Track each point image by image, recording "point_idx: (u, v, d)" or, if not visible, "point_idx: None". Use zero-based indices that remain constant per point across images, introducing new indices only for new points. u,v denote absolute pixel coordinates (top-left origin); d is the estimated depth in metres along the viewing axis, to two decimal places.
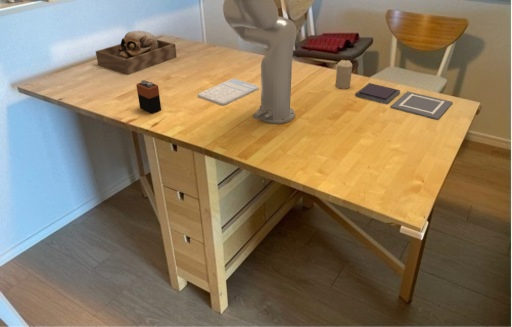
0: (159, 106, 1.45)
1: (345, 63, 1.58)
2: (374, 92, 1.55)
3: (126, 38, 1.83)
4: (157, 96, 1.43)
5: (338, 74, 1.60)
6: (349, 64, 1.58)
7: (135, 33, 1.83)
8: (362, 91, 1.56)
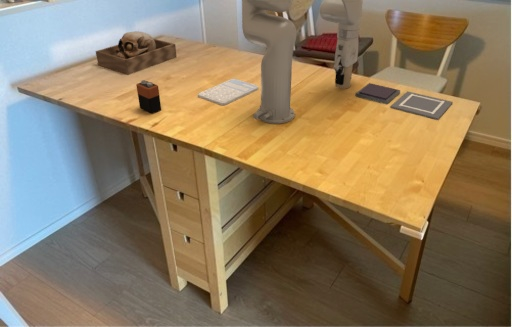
0: (159, 106, 1.45)
1: None
2: (374, 92, 1.55)
3: (123, 39, 1.82)
4: (157, 96, 1.43)
5: None
6: None
7: (132, 34, 1.82)
8: (362, 91, 1.56)
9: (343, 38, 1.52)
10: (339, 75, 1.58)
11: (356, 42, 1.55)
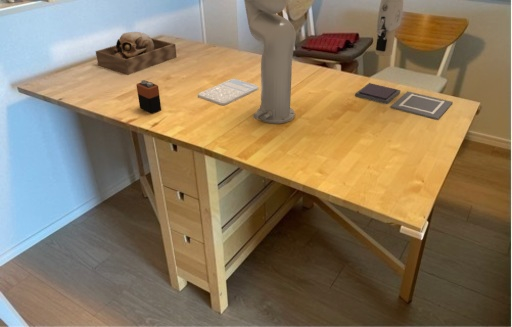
0: (159, 106, 1.45)
1: None
2: (374, 92, 1.55)
3: (121, 39, 1.82)
4: (157, 96, 1.43)
5: None
6: None
7: (131, 34, 1.81)
8: (362, 91, 1.56)
9: None
10: (381, 40, 1.43)
11: (401, 3, 1.40)
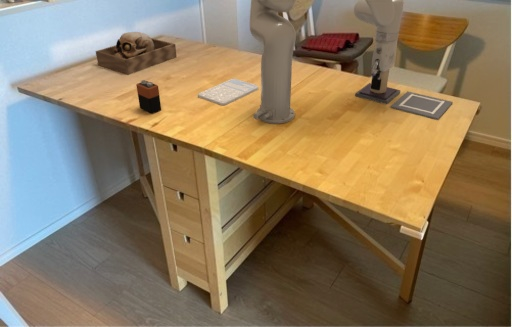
0: (159, 106, 1.45)
1: None
2: None
3: (121, 39, 1.82)
4: (157, 96, 1.43)
5: None
6: None
7: (131, 34, 1.81)
8: (362, 91, 1.56)
9: (382, 41, 1.44)
10: (376, 80, 1.50)
11: (394, 45, 1.47)
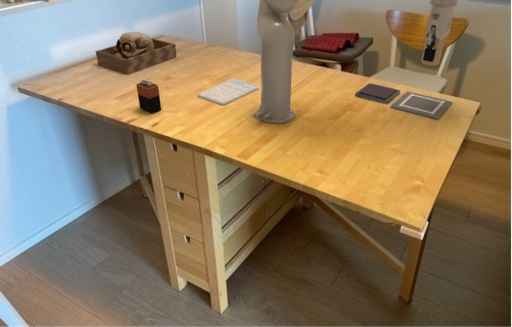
0: (159, 106, 1.45)
1: None
2: (374, 92, 1.55)
3: (121, 39, 1.82)
4: (157, 96, 1.43)
5: None
6: None
7: (130, 34, 1.81)
8: (362, 91, 1.56)
9: (440, 5, 1.28)
10: (430, 50, 1.35)
11: (452, 10, 1.32)
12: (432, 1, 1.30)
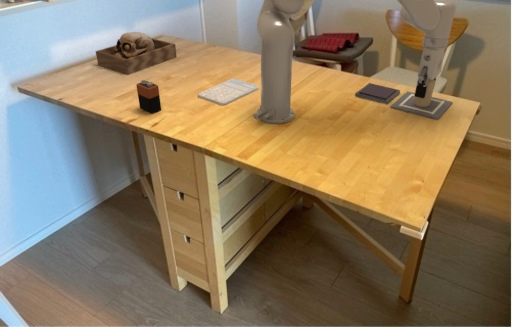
0: (159, 106, 1.45)
1: None
2: (374, 92, 1.55)
3: (121, 39, 1.82)
4: (157, 96, 1.43)
5: None
6: (432, 80, 1.42)
7: (131, 34, 1.81)
8: (362, 91, 1.56)
9: (431, 47, 1.35)
10: (421, 87, 1.40)
11: (443, 51, 1.39)
12: (424, 43, 1.37)
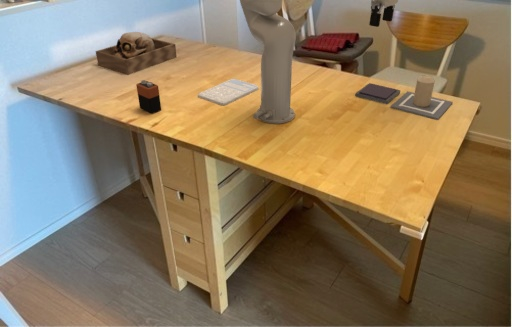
0: (159, 106, 1.45)
1: (427, 79, 1.42)
2: (374, 92, 1.55)
3: (122, 39, 1.82)
4: (157, 96, 1.43)
5: (418, 91, 1.44)
6: (432, 80, 1.42)
7: (131, 34, 1.81)
8: (362, 91, 1.56)
9: None
10: (375, 14, 1.36)
11: None
12: None
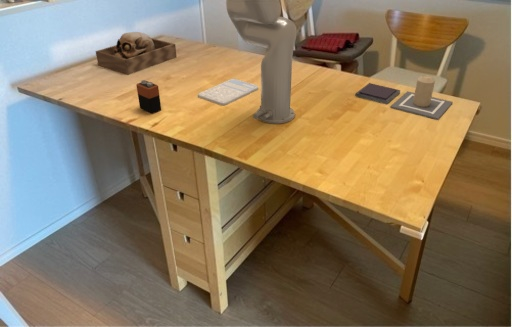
0: (159, 106, 1.45)
1: (428, 79, 1.42)
2: (374, 92, 1.55)
3: (121, 39, 1.82)
4: (157, 96, 1.43)
5: (418, 91, 1.45)
6: (432, 80, 1.42)
7: (131, 34, 1.81)
8: (362, 91, 1.56)
9: None
10: None
11: None
12: None
